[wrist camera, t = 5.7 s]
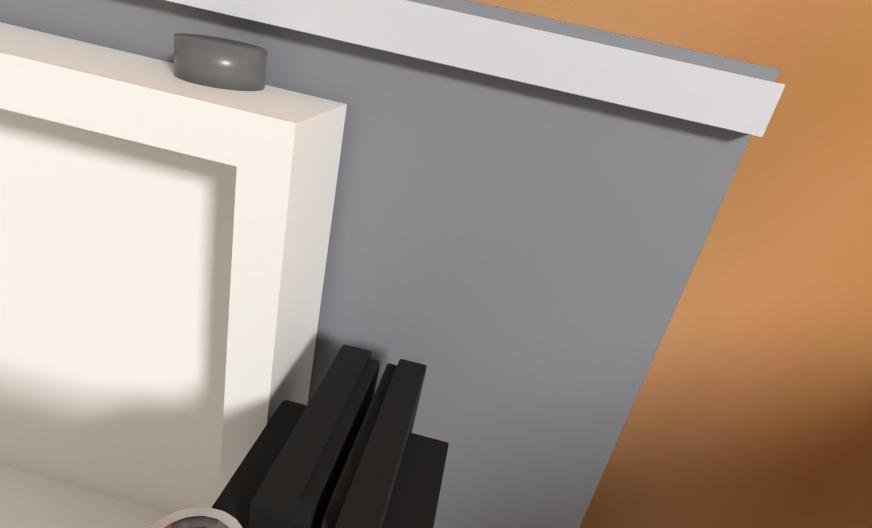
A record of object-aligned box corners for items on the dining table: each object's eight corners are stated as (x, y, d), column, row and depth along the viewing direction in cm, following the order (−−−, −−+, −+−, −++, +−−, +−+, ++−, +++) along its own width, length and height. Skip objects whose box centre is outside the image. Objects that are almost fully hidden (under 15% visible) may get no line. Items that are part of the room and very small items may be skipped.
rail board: (756, 66, 9) (832, 75, 7) (525, 614, 16) (524, 718, 13) (-511, -214, 11) (-797, -284, 9) (-270, 384, 17) (-397, 440, 15)
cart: (353, 68, 9) (299, 77, 7) (288, 552, 14) (245, 645, 12) (-271, -78, 10) (-492, -109, 8) (-127, 431, 15) (-239, 499, 13)
